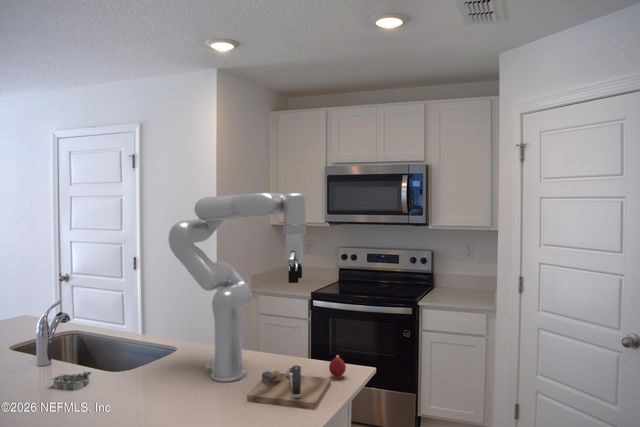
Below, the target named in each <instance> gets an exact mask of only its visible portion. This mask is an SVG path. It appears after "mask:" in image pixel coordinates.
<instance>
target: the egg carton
mask: <svg viewBox="0 0 640 427" xmlns="http://www.w3.org/2000/svg"><path fill="white" fill-rule="evenodd" d="M91 374H92V372H91V371H84V372H83V373H73V374H68V373H63V375H62V374H60V375H57V376H55V377H53V378H51V380H53V388H54V390H58V389H62V388H63V390H70V389H71V390H73V391H76V390H82V389H83V388H84V387H85V386H89V385H90V376H91Z"/></svg>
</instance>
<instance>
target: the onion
mask: <svg viewBox="0 0 640 427" xmlns="http://www.w3.org/2000/svg"><path fill="white" fill-rule="evenodd" d="M346 368H347V365H346V363H345V361H344V360H343V359H342V358H340V355H339V354H337V355H336V356H335V357H334V358H333V359H332V360H331V361H330V363H329V366H328V369H329V372H330V374H331V375H332V376H333V377H334V378H336V379H339V378H340V377H341V376H343V374H344V373H345V372H346Z"/></svg>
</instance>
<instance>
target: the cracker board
mask: <svg viewBox="0 0 640 427" xmlns="http://www.w3.org/2000/svg"><path fill="white" fill-rule="evenodd" d="M331 383H332V379H331V377H321V376H311V375H303V374H301V393H300V394H301V398H293V397H292V391H291V385H290V379H289V378H288V377H286V373H283V372H280V371H278V370H273V371H263V372H262V373H261V380H260V381H259V383H257V384H256V386H254V387H253V389H252V390H251V391H250V392H248V394H247V395H246V401H247V402H249V403H259V404H266V405H273V406H274V405H275V406H281V407H291V408H297V409H298V408H299V409H307V410H316V409H317V407H318V406H319V405H320V403H321V401H322V400H323V397H324V396H325V394H326V393H327V391H328V390H329V388H330V386H331V385H332V384H331Z"/></svg>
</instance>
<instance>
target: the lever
mask: <svg viewBox="0 0 640 427" xmlns="http://www.w3.org/2000/svg"><path fill="white" fill-rule="evenodd" d="M301 368H302V367H301V365H297V364H296V365H292V367H290V368H289V369H288V370H286V372H285V374H286V377H288V378H289V379H290V385H291V391H292V397H293V398H301V394H300V393H301V375H302V374H301V373H302V372H301Z"/></svg>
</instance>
